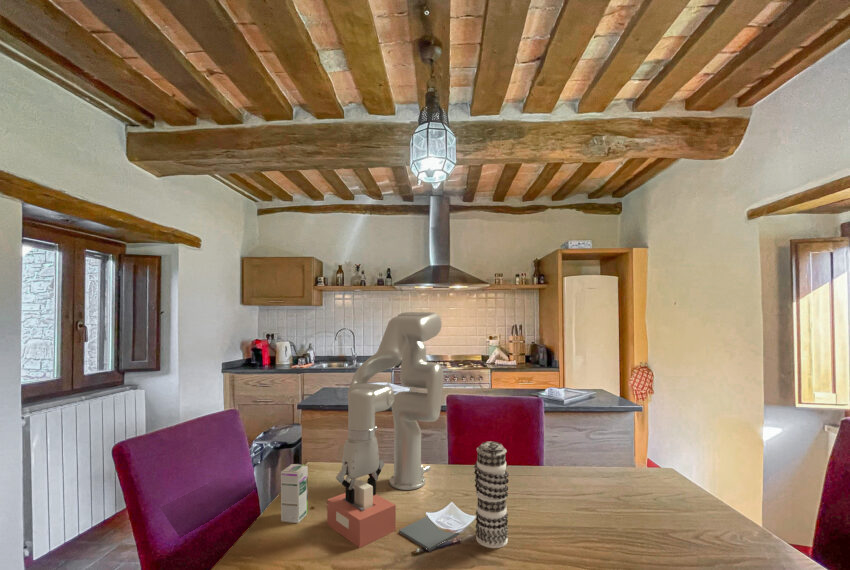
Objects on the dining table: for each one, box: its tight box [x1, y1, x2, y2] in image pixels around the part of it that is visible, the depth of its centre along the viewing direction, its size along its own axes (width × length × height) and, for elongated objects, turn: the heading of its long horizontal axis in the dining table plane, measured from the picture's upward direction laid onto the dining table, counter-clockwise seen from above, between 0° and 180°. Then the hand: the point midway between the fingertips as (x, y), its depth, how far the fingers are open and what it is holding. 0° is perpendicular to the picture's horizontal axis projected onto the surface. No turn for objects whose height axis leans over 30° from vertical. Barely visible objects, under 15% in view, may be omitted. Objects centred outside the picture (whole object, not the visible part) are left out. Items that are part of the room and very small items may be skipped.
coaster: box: [398, 515, 460, 552], centre depth 115 cm, size 12×12×1 cm
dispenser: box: [326, 492, 397, 549], centre depth 118 cm, size 12×16×7 cm
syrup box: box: [280, 463, 309, 524], centre depth 123 cm, size 6×6×14 cm
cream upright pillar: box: [353, 478, 373, 509], centre depth 118 cm, size 3×7×9 cm, turn 44°
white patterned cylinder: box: [473, 440, 509, 549], centre depth 113 cm, size 9×9×25 cm
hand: (361, 497), depth 118 cm, fingers open, 6 cm apart
